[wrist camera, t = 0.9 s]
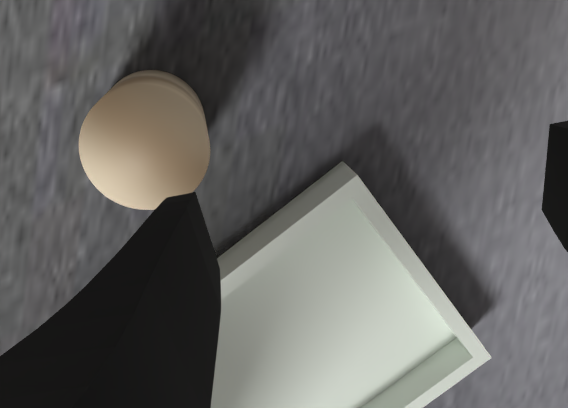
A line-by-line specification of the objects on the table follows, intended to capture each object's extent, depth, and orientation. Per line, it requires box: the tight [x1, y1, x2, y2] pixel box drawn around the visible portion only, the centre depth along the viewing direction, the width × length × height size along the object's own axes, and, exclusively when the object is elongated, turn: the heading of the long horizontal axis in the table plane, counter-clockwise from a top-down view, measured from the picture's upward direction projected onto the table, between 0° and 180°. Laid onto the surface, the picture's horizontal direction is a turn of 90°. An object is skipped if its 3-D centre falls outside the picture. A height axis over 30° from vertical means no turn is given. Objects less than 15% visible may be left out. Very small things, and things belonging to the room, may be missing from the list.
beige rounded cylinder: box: [79, 70, 210, 210], centre depth 22 cm, size 5×5×6 cm
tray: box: [211, 161, 492, 408], centre depth 28 cm, size 18×14×2 cm
